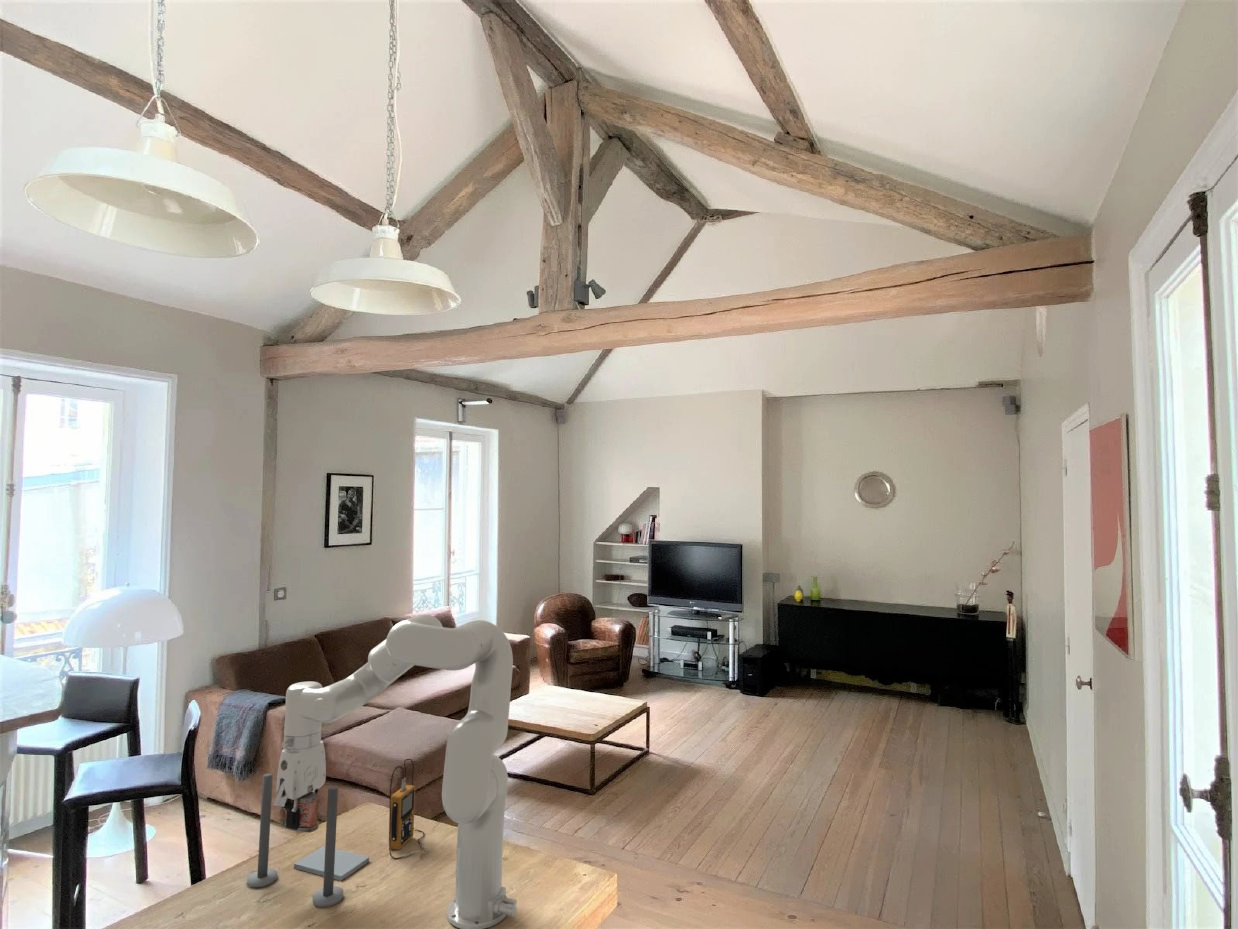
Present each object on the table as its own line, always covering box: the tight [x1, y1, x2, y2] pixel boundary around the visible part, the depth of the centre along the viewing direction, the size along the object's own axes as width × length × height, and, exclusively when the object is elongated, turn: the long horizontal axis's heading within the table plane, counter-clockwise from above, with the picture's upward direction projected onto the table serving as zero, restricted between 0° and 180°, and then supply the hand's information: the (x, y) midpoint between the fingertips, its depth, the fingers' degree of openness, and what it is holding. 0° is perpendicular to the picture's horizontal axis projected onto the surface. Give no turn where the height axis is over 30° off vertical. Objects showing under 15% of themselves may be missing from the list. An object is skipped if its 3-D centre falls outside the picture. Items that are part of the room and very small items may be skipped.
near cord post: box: [312, 786, 344, 908], centre depth 142 cm, size 6×6×23 cm
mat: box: [293, 845, 370, 882], centre depth 155 cm, size 14×9×1 cm, turn 70°
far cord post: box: [246, 773, 278, 888], centre depth 149 cm, size 6×6×23 cm
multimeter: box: [388, 758, 428, 860], centre depth 166 cm, size 15×10×20 cm
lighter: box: [284, 785, 319, 833], centre depth 147 cm, size 8×3×10 cm, turn 73°
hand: (298, 824), depth 146 cm, fingers closed on lighter, 2 cm apart
